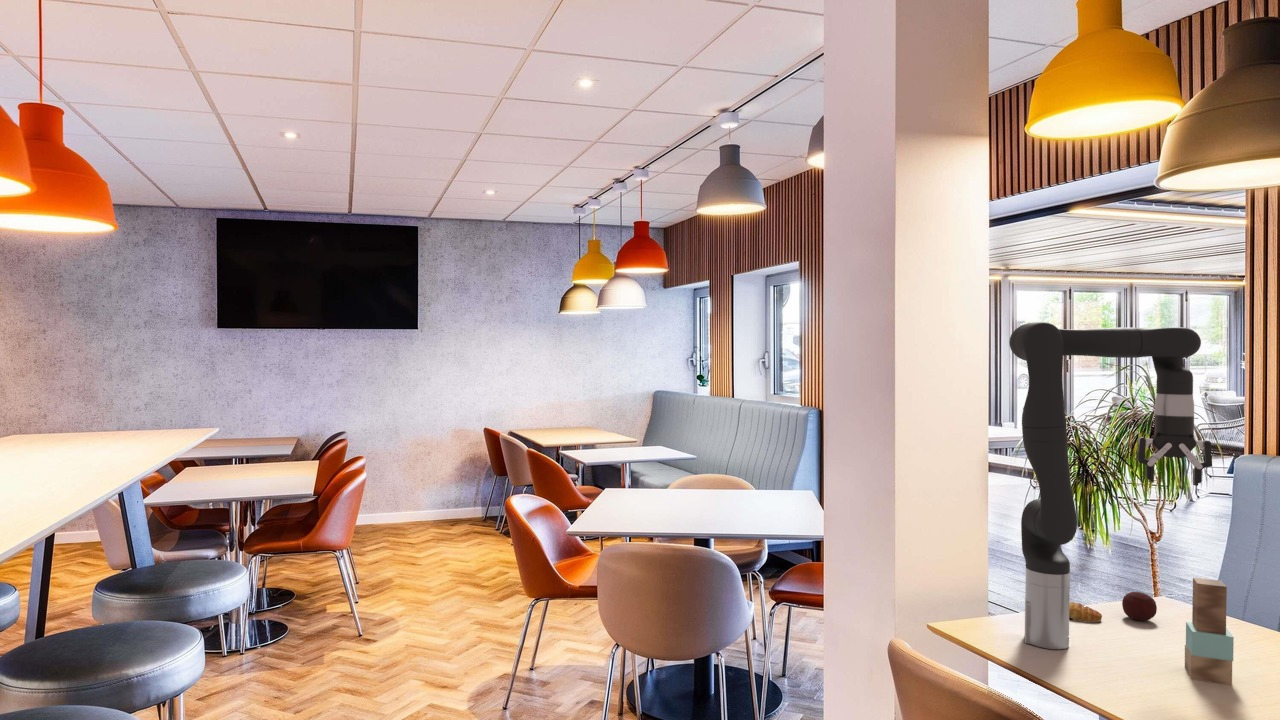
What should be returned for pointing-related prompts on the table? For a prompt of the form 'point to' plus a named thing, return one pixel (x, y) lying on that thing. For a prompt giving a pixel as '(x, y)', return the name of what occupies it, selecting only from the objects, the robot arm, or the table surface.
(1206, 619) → the post
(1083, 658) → the table surface
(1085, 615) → the pastry
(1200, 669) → the tower base
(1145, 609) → the potato
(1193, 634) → the tower top
